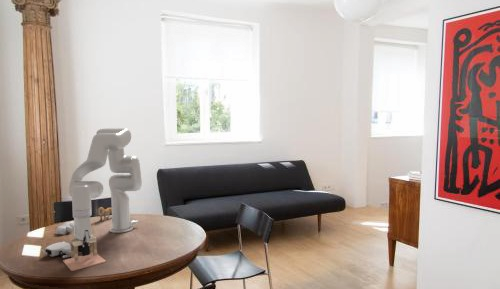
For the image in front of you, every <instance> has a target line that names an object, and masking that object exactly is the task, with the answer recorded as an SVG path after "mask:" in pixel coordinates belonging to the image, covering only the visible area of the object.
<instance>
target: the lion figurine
mask: <svg viewBox="0 0 500 289" xmlns="http://www.w3.org/2000/svg"><path fill="white" fill-rule="evenodd" d="M110 214H111V215H112V207H107V208H106V209H105V208H104V207H102V206H100V207H99V208H98V209H97V215H98V216H99V218H100V220H99V221H100V222H101V221H102V220H103V221H104V222H105V221H107V219H109V218H110V216H111V215H110Z"/></svg>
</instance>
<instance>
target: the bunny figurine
mask: <svg viewBox="0 0 500 289" xmlns="http://www.w3.org/2000/svg"><path fill="white" fill-rule="evenodd" d="M72 232H74V220H71V221H65V222H63V224H61V225H59V226H56V229H55V234H56V235H63V236H65V235H68V233H72Z"/></svg>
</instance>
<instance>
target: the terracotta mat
mask: <svg viewBox="0 0 500 289" xmlns="http://www.w3.org/2000/svg"><path fill="white" fill-rule="evenodd" d="M62 262H63V263H64V264H65V266H66V267H67V268H68V269H69V270H70V271H71V272H73V271H74V272H75V271H78V270H80V269H81V270H82V269H85V268H86V269H87V268H89V267H92V266H96V265H97V266H98V265H100V264H103V263H107V261H106V259H104V258H103V257H102V256H101V255H100V254H98V253H97V256H93V253H90V254H89V255H86V256H82V255H78V260H76V261H75V260H74V257H73V258H72V257H71V258H70V257H69V258H65V259H63V260H62Z"/></svg>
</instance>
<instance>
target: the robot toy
mask: <svg viewBox="0 0 500 289" xmlns="http://www.w3.org/2000/svg"><path fill="white" fill-rule="evenodd" d="M40 251H42V252H43V253H44V254H45V255H47V256H50V257H56V256H60V258H62V259H69V258H70V257H71V243H69V242H66V241H64V240H63V241H60V242H55V243H52V244H49V245H48V246H46V247H45V250H43V249H40ZM71 258H72V257H71Z"/></svg>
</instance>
